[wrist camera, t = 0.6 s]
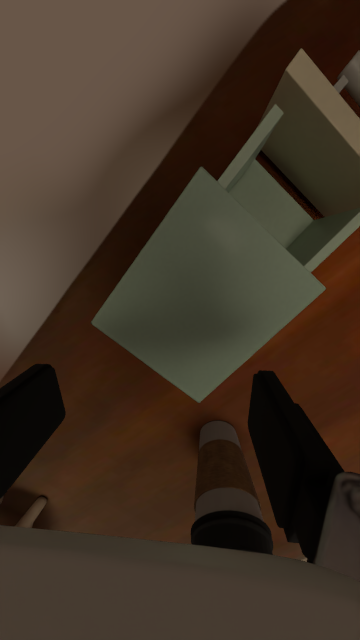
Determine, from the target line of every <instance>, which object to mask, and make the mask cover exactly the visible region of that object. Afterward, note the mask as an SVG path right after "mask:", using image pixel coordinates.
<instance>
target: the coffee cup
mask: <svg viewBox="0 0 360 640" xmlns="http://www.w3.org/2000/svg"><path fill="white" fill-rule="evenodd" d="M194 509H195V513H196V514H195V523H194V524H193V525H192V528H191V543H192V545H201V546H209V547H217V548H224V549H232V550H240V551H248V552H256V553H263V554H270V555H273V554H272V550H273V541H272V537H271V531H270V529H269V527H268V526H267V525H266V523H264V521H263V518H262V514H261V505H260V502H259V499H258V497H257V494H256V491H255V488H254V485H253V482H252V479H251V476H250V473H249V470H248V467H247V464H246V461H245V458H244V455H243V452H242V450H241V447H240V444H239V440H238V437H237V434H236V431H235V429H234V428H233V427H232V426H231V425H230V424H229V423H226V422H224V421H212V422H209V423H207V424H205V425H204V426H203V427H202V429H201V431H200V443H199V454H198V466H197V478H196V490H195V502H194Z"/></svg>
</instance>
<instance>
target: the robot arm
mask: <svg viewBox="0 0 360 640" xmlns="http://www.w3.org/2000/svg"><path fill="white" fill-rule="evenodd" d="M64 418H65V408H64V404H63V400H62V396H61V392H60V388H59V385H58V381H57V377H56V373H55V369H54V368H52V366H51V365H49V364H35V365H33V366H32V367H30V368H29V369H28V370H26V371H25V372H23V373H22V374H20V375H19V376H17V377H16V378H15V379H13V380H12V381H10V382H9V383H7V384H6V385H4V386H3V387H2V388H0V499H1V498H2V497H3V496H4V494H5V493H6V492H7V490H8V489H9V488H10V487H11V485H12V484H13V483H14V482H15V480H16V479H17V478H18V477H19V475H20V474H21V473H22V472H23V470H24V469H25V468H26V467H27V465H28V464H29V463H30V461H31V460H32V459H33V458H34V456H35V455H36V454H37V453H38V451H39V450H40V449H41V448H42V446H43V445H44V444H45V443H46V441H47V440H48V439H49V438H50V436H51V435H52V434H53V432H54V431H55V430H56V429H57V427H58V426H59V425H60V424H61V422H62V421H63V420H64ZM248 428H249V432H250V436H251V439H252V442H253V446H254V449H255V452H256V456H257V459H258V463H259V466H260V469H261V473H262V476H263V479H264V483H265V486H266V489H267V493H268V496H269V500H270V503H271V506H272V510H273V513H274V516H275V520H276V523H277V525H278V527H279V528H284V532H285V535H286V538H287V541H288V542H293V543H299V544H300V547H301V550H302V553H303V555H304V556H305V557H306V558H307V562H305V561H301V560H296V559H291V558H286V557H280V556H275V555H270V554H263V553H256V552H248V551H240V550H232V549H224V548H217V547H209V546H201V545H191V544H182V543H172V542H163V541H153V540H144V539H134V538H125V537H115V536H105V535H95V534H85V533H75V532H65V531H55V530H45V529H35V528H25V527H14V526H4V525H0V640H360V474H357V473H353V472H344V470H343V469H342V467H341V466H340V464H339V463H338V461H337V460H336V458H335V457H334V455H333V454H332V452H331V451H330V449H329V448H328V446H327V445H326V444H325V442H324V441H323V439H322V438H321V436H320V435H319V433H318V432H317V430H316V429H315V427H314V426H313V424H312V423H311V421H310V420H309V418H308V417H307V416H306V414H305V413H304V411H303V410H302V408H301V407H300V406H299V405H298V404H296V403H294V402H293V401H292V399H291V398H290V396H289V394H288V393H287V391H286V390H285V388H284V387H283V385H282V384H281V382H280V381H279V379H278V378H277V376H276V375H275V373H274V372H273V371H258V374H254V376H253V384H252V392H251V400H250V408H249V416H248Z"/></svg>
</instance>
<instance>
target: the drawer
mask: <svg viewBox="0 0 360 640" xmlns="http://www.w3.org/2000/svg"><path fill="white" fill-rule="evenodd" d="M337 79H338V81H337V83H336V84H335V85H334V86H332V84H331V83H330V82H329V81H328V80H327V78H326V77H325V76H324V75H323V73H322V72H321V71H320V70H319V69H318V67H317V66H316V65H315V64H314V62H313V61H312V60H311V59H310V58H309V56H308V55H307V54H306V53H305V51H304V50H303V49H302V48H301V49H300V50H299V52H298V53H297V54H296V56H295V57H294V58H293V60H292V61H291V63H290V64H289V65H288V67H287V68H286V70H285V72H284V74H283V76H282V78H281V80H280V82H279V84H278V86H277V88H276V90H275V92H274V94H273V96H272V98H271V100H270V102H269V104H268V106H267V108H266V110H265V113H264V115H263V117H262V119H261V121H260V123H259V125H258V127H257V129H256V130H255V131H254V133H253V134H252V135H251V137H250V138H249V139H248V141H247V142H246V143H245V145H244V146H243V147H242V149H241V150H240V151H239V153H238V154H237V155H236V157H235V158H234V159H233V161H232V162H231V163H230V165H229V166H228V168H227V169H226V170H225V172H224V173H223V174H222V176H221V177H220V178H219V180H218V181H217V182H218V183H219V184H220V185H221V186H222V187H223V188H224V189H225V190H226V191H227V192H228V193H229V194H230V195H231V196H232V197H233V198H234V199H235V200H236V201H238V202H239V203H240V204H241V205H242V206H243V207H244V208H245V209H246V210H247V211H248V212H249V213H250V214H251V215H252V216H253V217H254V218H255V219H256V220H257V221H258V222H259V223H260V224H261V225H262V226H263V227H264V228H265V229H266V230H267V231H268V232H269V233H270V234H271V235H272V236H273V237H274V238H275V239H276V240H277V241H278V242H279V243H280V244H281V245H282V246H284V247H285V248H286V249H287V250H288V251H289V252H290V253H291V254H292V255H293V256H294V257H295V258H296V259H297V260H298V261H299V262H300V263H301V264H302V265H303V266H304V267H305V268H306V269H307V270H308V271H309V272H310V273H311V272H312V271H313V270H314V269H315V268H316V267H317V266H318V265H319V264H320V263H321V262H322V261H323V260H324V259H325V258H326V257H328V256H329V255H330V254H331V253H332V252H333V251H334V250H335V249H336V248H337V247H338V246H339V245H340V244H341V243H342V242H343V241H344V240H345V239H346V238H348V237H349V236H350V235H351V234H352V233H353V232H354V231H355V230H356V229H357V228H358V227H359V226H360V119H359V117H358V116H357V115H356V114H355V113H354V111H353V110H352V109H351V108H350V106H349V105H348V104H347V103H346V102H345V100H344V99H343V98H342V97H341V95H340V94H339V93H340V91H341V90H342V89H343V88H345V89H346V91H347V92H348V93H349V94H350V96H351V97H352V98H353V99H354V100H355V102H356V103H357V104H358V105H359V107H360V50H359V51H358V52H357V53H356V55H355V56H354V57H353V58H352V59H351V61H350V62H349V63H348V64H347V66H346V67H345V68H344V69H343V71H342V72H341V73H340V74H339V76H338V77H337ZM260 150H262V151H263V152H264V153H265V155H266V156H267V157H268V158H269V159H270V160H271V161H272V162H273V163H274V164H275V165H276V166H277V167H278V168H279V169H280V170H281V171H282V173H283V174H284V175H285V176H286V177H287V178H288V179H289V180H290V181H291V182H292V183H293V184H294V185H295V186H296V187H297V188H298V189H299V191H300V192H301V193H302V194H303V195H304V196H305V197H306V198H307V199H308V200H309V201H310V202H311V203H312V204H313V205H314V206H315V207H316V209H317V210H318V211H319V212H320V213H321V214H322V215H323V216H324V218H320V219H317V220H313V219H312V218H311V217H310V216H309V215H308V214H307V213H306V212H305V211H304V210H303V209H302V207H301V206H300V205H299V204H298V203H297V202H296V201H295V200H294V199H293V198H292V197H291V196H290V195H289V194H288V193H287V192H286V191H285V190H284V189H283V188H282V187H281V186H280V185H279V184H278V182H277V181H276V180H275V179H274V178H273V177H272V176H271V175H270V174H269V173H268V172H267V171H266V170H265V169H264V168H263V167H262V166H261V165H260V164H259V163H258V162H257V161H256V160H255V158H256V157H257V155H258V153H259V152H260Z"/></svg>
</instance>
